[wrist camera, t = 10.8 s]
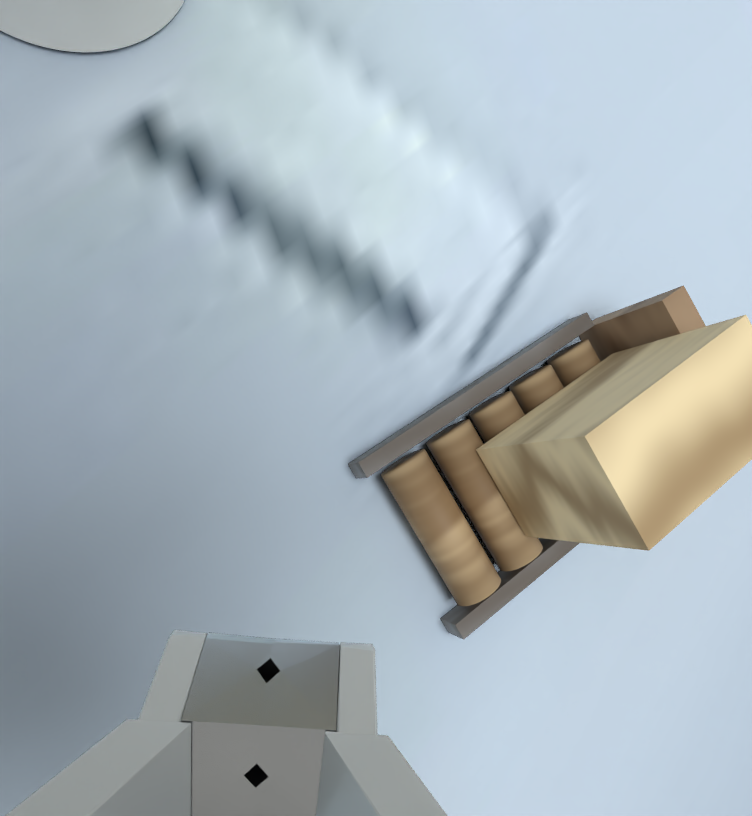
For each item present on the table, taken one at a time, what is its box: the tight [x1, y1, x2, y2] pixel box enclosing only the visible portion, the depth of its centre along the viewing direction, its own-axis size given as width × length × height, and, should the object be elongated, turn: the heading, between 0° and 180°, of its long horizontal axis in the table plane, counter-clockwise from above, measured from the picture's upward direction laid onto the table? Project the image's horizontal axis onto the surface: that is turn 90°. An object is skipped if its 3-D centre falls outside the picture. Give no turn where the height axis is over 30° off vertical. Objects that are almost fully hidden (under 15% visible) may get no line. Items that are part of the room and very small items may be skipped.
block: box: [476, 315, 752, 550], centre depth 36 cm, size 6×12×10 cm, turn 123°
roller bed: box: [348, 313, 601, 639], centre depth 41 cm, size 12×19×3 cm, turn 123°
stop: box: [579, 286, 706, 361], centre depth 43 cm, size 10×2×8 cm, turn 33°
